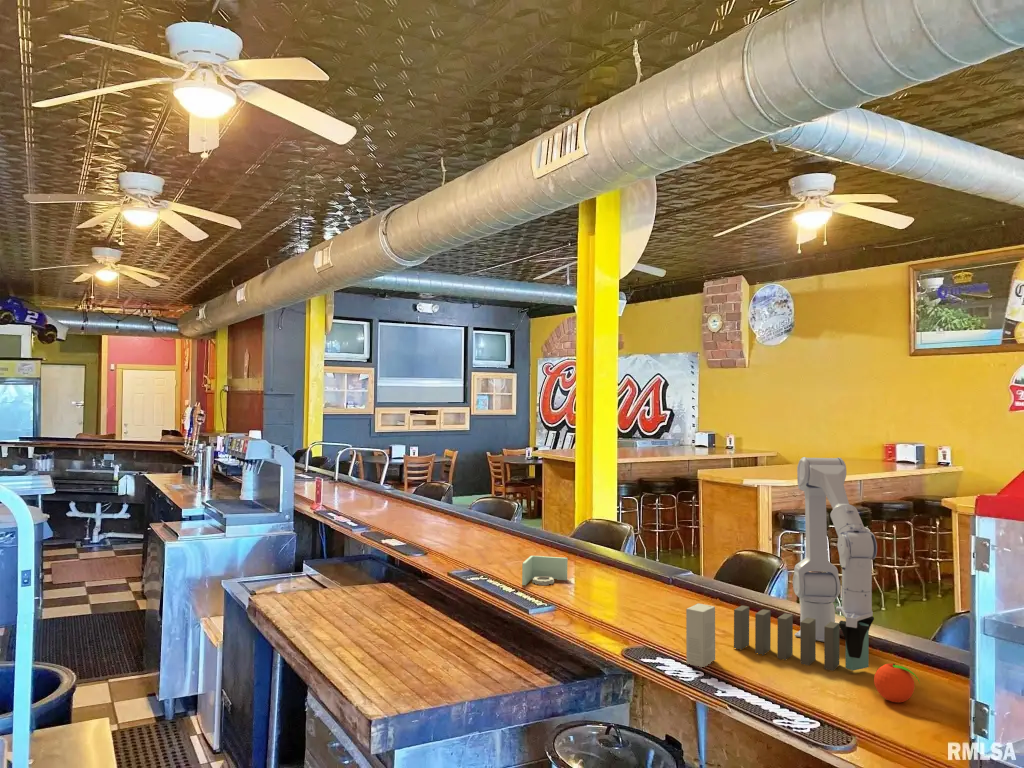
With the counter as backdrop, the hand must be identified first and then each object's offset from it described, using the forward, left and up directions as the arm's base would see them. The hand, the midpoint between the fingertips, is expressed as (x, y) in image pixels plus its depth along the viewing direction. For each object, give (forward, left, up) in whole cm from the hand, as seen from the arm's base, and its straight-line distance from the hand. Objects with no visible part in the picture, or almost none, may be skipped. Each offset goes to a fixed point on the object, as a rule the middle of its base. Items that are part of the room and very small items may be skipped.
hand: (856, 653), depth 157 cm
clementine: (+12, +10, -4) cm, 16 cm away
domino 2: (0, -20, -4) cm, 20 cm away
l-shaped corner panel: (-21, -96, -5) cm, 98 cm away
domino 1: (0, -25, -4) cm, 25 cm away
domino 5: (0, -5, -4) cm, 6 cm away
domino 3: (0, -15, -4) cm, 15 cm away
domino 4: (0, -10, -4) cm, 11 cm away
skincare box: (+16, -28, -4) cm, 33 cm away
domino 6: (0, 0, -3) cm, 3 cm away
